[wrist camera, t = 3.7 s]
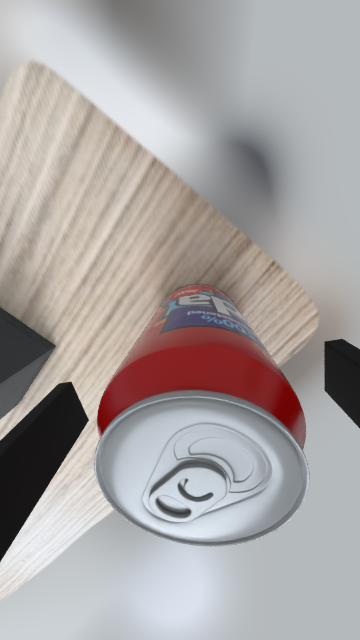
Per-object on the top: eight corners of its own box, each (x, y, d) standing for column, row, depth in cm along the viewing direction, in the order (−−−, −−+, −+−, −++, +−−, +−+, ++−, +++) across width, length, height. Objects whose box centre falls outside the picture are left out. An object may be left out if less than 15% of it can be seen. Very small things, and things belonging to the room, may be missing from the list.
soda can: (143, 327, 21) (31, 489, 7) (190, 264, 19) (165, 310, 4) (203, 369, 22) (214, 586, 8) (254, 315, 20) (405, 484, 5)
